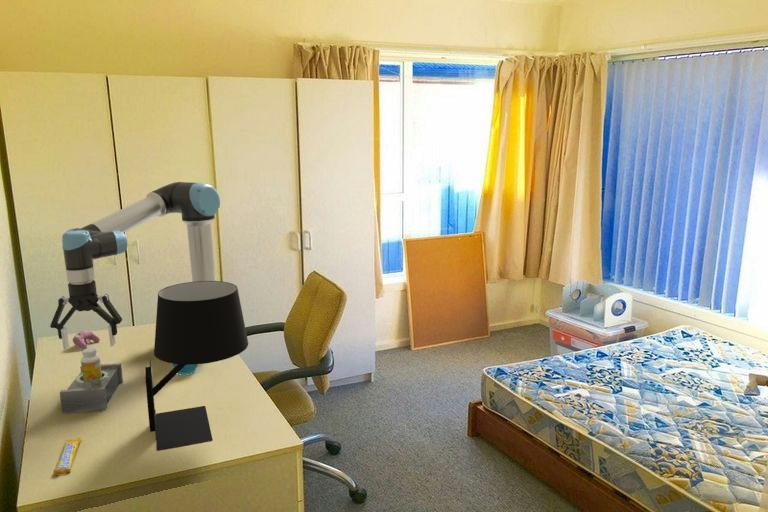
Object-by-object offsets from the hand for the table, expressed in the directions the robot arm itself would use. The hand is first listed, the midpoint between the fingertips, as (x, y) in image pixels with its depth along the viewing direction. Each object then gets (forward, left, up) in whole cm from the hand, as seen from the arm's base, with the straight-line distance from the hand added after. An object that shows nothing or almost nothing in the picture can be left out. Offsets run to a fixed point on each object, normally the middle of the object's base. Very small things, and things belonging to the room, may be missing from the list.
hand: (89, 346), depth 183 cm
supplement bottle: (0, 0, -11) cm, 11 cm away
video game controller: (+17, -49, -17) cm, 55 cm away
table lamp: (-36, +24, -17) cm, 47 cm away
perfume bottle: (-26, -16, -17) cm, 35 cm away
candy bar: (-4, +37, -18) cm, 41 cm away
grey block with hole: (0, 0, -17) cm, 17 cm away
